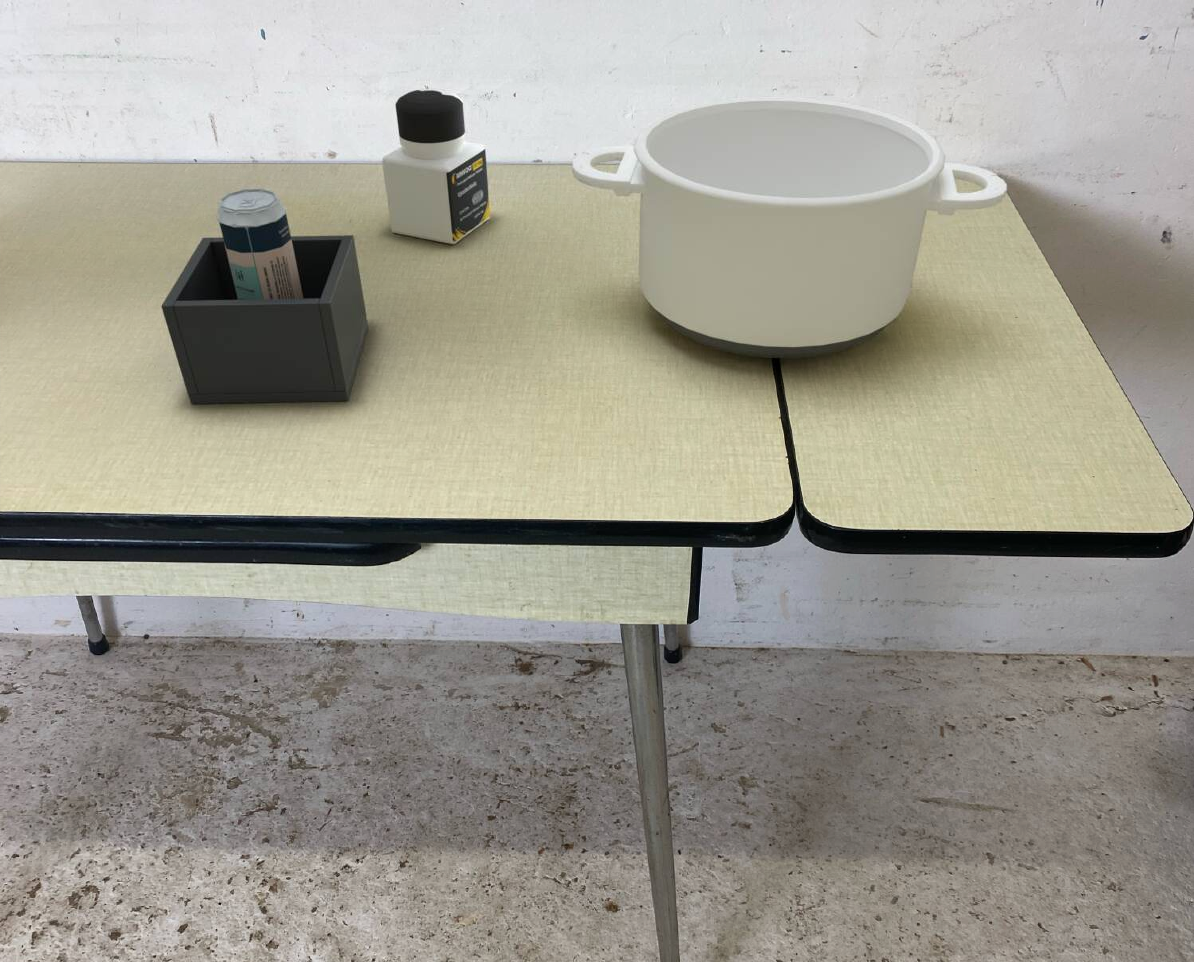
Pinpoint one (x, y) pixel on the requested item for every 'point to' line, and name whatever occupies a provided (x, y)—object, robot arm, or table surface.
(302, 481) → the table surface
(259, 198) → the beer can
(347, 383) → the bin
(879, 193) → the pot
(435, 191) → the medicine bottle
